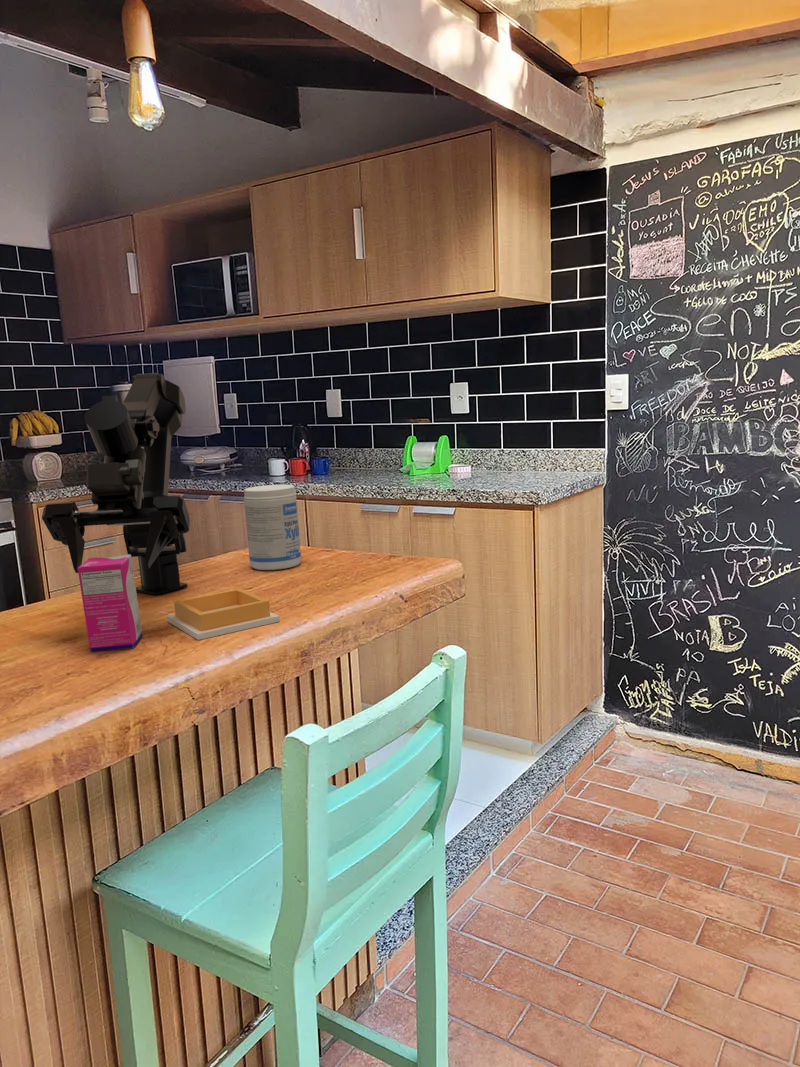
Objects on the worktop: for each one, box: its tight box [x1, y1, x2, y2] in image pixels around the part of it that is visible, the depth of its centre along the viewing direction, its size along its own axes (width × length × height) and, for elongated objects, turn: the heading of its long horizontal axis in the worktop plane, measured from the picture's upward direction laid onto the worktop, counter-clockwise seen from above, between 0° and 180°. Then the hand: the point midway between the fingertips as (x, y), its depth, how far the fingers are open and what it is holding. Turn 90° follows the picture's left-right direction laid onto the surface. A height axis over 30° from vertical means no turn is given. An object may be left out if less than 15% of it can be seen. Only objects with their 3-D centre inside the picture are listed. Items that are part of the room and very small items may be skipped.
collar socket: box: [166, 588, 281, 641], centre depth 115 cm, size 12×12×3 cm
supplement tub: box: [243, 484, 302, 571], centre depth 150 cm, size 10×10×15 cm
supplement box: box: [77, 553, 144, 653], centre depth 107 cm, size 6×6×12 cm
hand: (111, 569), depth 108 cm, fingers open, 9 cm apart
